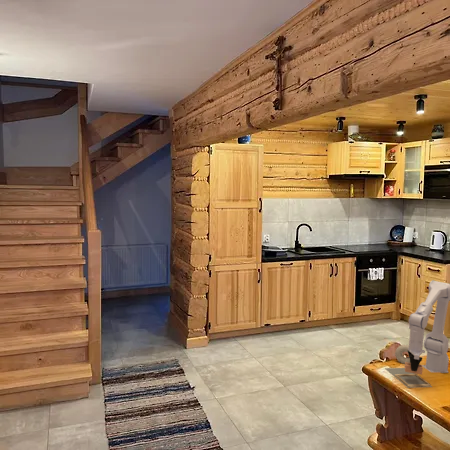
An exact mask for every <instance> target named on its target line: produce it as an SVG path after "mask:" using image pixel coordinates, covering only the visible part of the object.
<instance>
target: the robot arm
mask: <svg viewBox="0 0 450 450" xmlns="http://www.w3.org/2000/svg"><path fill="white" fill-rule="evenodd" d="M449 302H450V283H446V282H442V281H436V280H434V279H433V280H431V281H430V282H429V285H428V294H427V296H426V297H425V301H423V302H421V303H420V304H419V305H418V307H417V309H416V310H415V312H413V313H411V314H410V316H409V317H408V326H409V330H410V331H409V339H408V340H409V341H408V345H409V348H408V352H407V354H408V357H409V358H410V363H411V370H412V371H417V369H418V366H419V364H420V365H422V364H421V362H422V361H423V357H421V355H422V354H425V353H426V359H425V360H426V361H425V364H424V365H422V368H424V369H426V370H427V371H429V372H430V373H441V374H444V373H445V374H446V373H449V370H448V369H449V356H448V354H447V353H448V350H449V339H448V337H447V335H445V333H444V331H445V324H446V319H447V313H448V307H449ZM435 303H436V306H435V307H436V308H435V312H434V317H433V318H434V319H433V325H432V330H431V331H429V332H428V333H426V335H425V328H427V325H428V323H429V322H428V321H429V320H430V319H429V317H430V315H431V314H432V313H433V311H434V308H433V306H434V305H435ZM424 335H425V336H424ZM424 337H425V338H424ZM423 347H424V349H423Z"/></svg>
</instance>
